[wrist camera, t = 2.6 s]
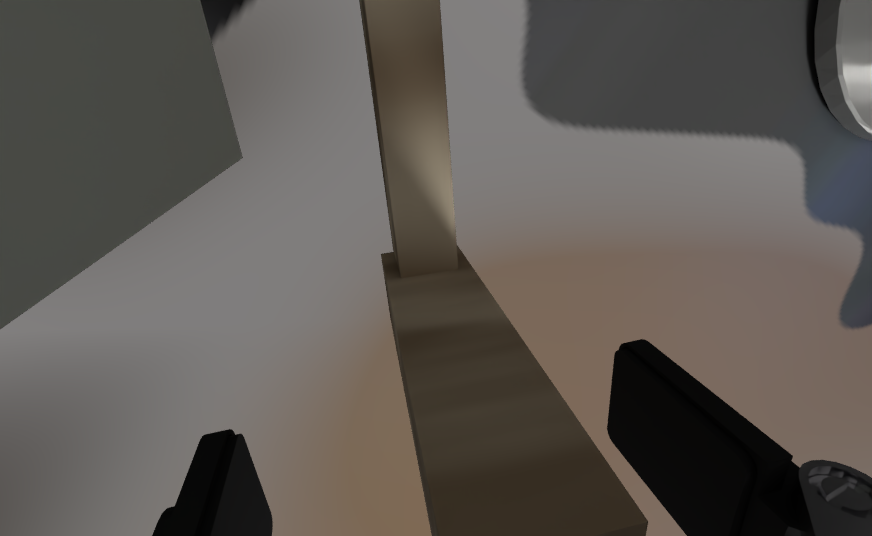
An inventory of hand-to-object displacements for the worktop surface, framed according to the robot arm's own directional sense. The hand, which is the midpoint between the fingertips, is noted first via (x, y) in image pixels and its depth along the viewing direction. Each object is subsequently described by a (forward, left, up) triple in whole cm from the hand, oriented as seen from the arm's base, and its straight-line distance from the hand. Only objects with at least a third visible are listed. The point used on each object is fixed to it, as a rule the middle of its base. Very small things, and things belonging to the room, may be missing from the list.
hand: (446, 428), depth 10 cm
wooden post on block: (-1, -7, -8) cm, 10 cm away
